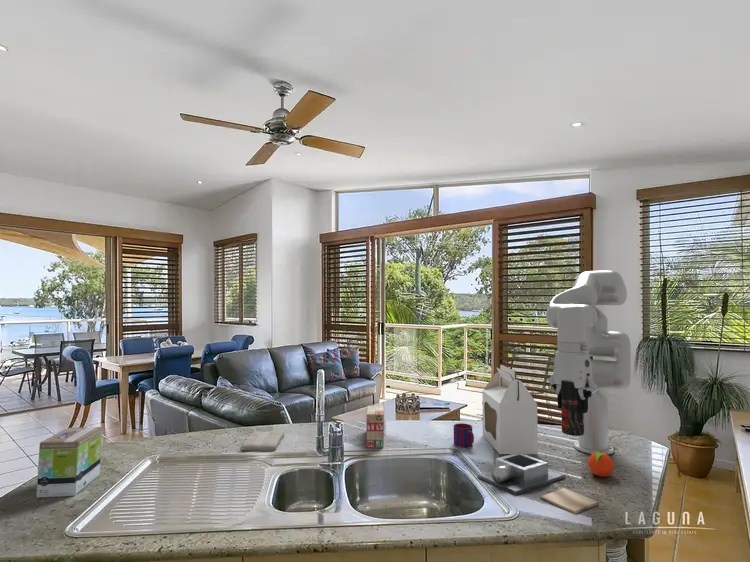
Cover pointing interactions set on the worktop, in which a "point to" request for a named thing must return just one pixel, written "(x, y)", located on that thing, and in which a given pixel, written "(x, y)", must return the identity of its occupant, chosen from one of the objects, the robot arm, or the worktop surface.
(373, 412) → the stack of blocks
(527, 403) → the gable box
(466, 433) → the mug
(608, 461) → the clementine
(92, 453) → the tea box
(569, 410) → the deodorant
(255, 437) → the washcloth
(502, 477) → the grey square holder
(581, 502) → the coaster
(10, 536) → the worktop surface
